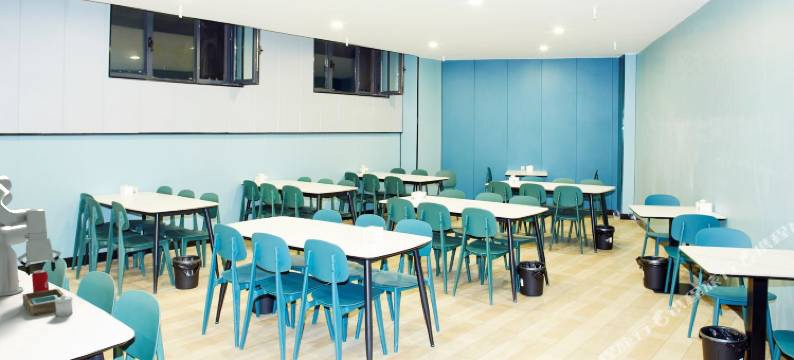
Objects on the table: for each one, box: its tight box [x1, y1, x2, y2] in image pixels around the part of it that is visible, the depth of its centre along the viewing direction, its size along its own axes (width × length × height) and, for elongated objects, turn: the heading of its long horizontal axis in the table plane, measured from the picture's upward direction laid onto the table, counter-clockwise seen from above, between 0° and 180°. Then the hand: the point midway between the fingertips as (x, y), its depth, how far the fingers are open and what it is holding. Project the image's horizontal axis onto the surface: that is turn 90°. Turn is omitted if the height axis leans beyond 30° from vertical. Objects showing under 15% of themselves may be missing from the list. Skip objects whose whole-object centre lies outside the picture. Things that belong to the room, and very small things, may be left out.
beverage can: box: [31, 269, 50, 293], centre depth 274 cm, size 6×6×12 cm
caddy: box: [22, 288, 66, 317], centre depth 258 cm, size 22×14×4 cm, turn 40°
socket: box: [30, 295, 59, 305], centre depth 258 cm, size 10×10×2 cm
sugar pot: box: [54, 294, 73, 318], centre depth 247 cm, size 7×7×8 cm
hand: (41, 272), depth 273 cm, fingers open, 9 cm apart
